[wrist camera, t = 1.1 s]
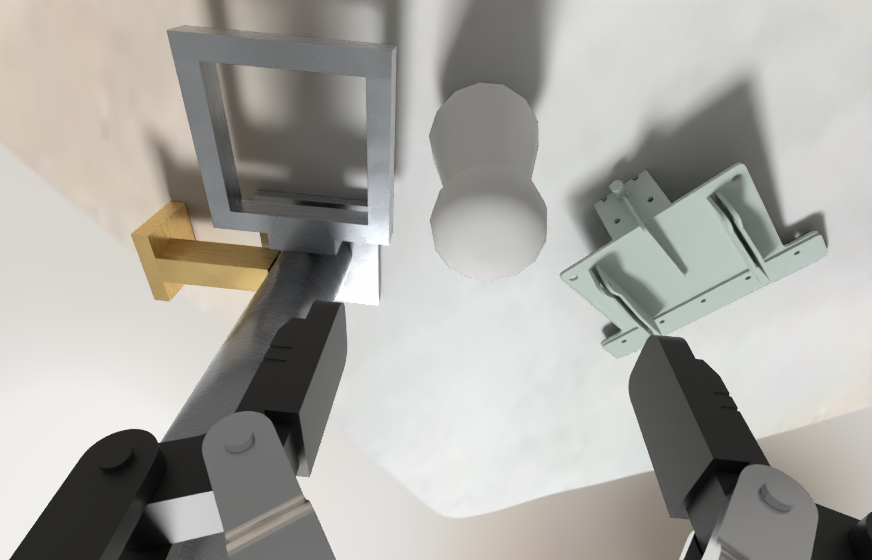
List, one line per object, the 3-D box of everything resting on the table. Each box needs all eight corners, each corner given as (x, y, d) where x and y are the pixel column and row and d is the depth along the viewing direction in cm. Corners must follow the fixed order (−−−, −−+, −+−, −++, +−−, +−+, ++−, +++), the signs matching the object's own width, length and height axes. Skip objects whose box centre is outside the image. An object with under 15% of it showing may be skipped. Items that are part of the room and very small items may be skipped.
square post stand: (403, 37, 24) (201, 288, 6) (395, 299, 35) (310, 672, 17) (114, 10, 24) (-844, 180, 7) (193, 279, 35) (-101, 625, 17)
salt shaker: (452, 185, 29) (439, 321, 18) (417, 95, 26) (378, 198, 15) (545, 154, 27) (588, 284, 17) (519, 55, 24) (552, 138, 14)
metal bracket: (531, 310, 27) (806, 145, 21) (509, 243, 31) (734, 86, 25) (632, 382, 36) (849, 282, 29) (605, 322, 40) (791, 222, 33)
